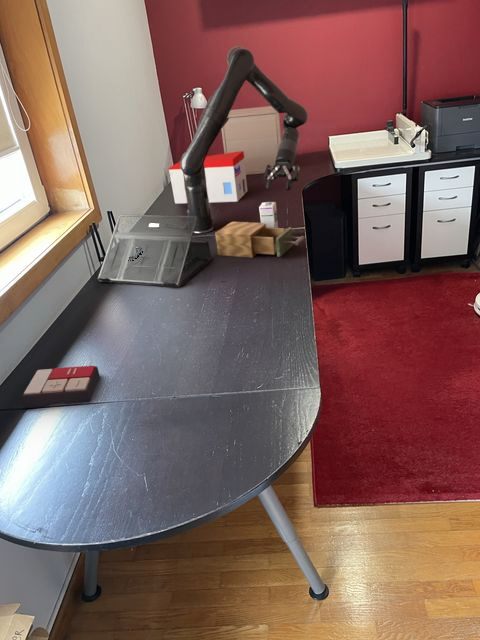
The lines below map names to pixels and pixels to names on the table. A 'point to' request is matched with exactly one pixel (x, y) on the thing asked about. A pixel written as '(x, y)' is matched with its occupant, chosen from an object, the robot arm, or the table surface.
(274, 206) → the syrup box
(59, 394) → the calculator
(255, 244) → the drawer
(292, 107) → the robot arm
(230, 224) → the cabinet
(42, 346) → the table surface
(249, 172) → the cabinet
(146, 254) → the laptop stand
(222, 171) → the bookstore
